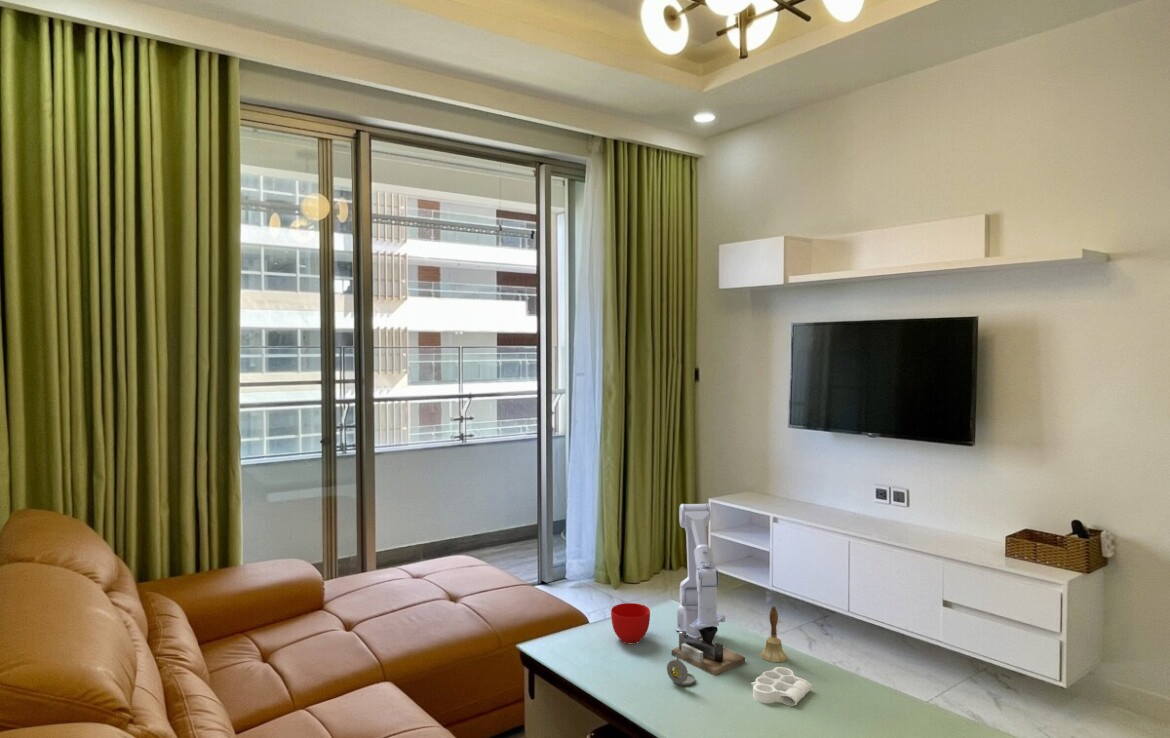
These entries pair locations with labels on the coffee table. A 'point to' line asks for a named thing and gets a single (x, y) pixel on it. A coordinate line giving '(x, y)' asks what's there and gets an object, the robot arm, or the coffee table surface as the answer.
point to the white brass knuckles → (780, 687)
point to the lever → (703, 646)
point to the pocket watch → (679, 672)
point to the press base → (708, 664)
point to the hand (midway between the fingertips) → (707, 649)
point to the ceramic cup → (630, 621)
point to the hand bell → (773, 642)
